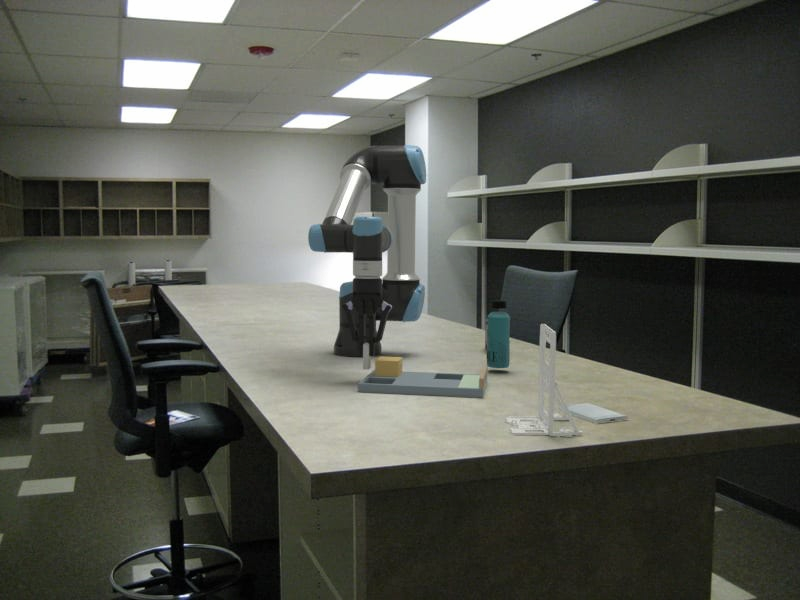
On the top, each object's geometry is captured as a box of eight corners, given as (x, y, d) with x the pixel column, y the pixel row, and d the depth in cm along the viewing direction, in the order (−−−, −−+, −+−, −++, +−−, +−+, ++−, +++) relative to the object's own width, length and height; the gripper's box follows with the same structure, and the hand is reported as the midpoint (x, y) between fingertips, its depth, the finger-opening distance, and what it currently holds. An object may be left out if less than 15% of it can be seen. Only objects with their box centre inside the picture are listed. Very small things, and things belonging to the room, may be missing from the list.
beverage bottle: (512, 370, 210) (514, 299, 208) (505, 374, 204) (507, 301, 202) (490, 368, 212) (491, 298, 211) (482, 372, 206) (484, 300, 205)
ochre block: (375, 375, 190) (375, 360, 189) (379, 371, 196) (379, 356, 195) (398, 376, 189) (398, 361, 188) (402, 372, 195) (402, 357, 194)
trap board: (358, 391, 180) (358, 373, 180) (373, 377, 198) (373, 360, 197) (483, 397, 175) (483, 378, 175) (487, 382, 193) (487, 365, 192)
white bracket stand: (502, 417, 157) (504, 323, 155) (568, 418, 156) (571, 323, 154) (510, 436, 142) (512, 332, 140) (583, 437, 142) (587, 333, 140)
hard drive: (559, 406, 163) (597, 418, 152) (588, 402, 167) (628, 414, 155) (558, 413, 163) (596, 426, 152) (588, 409, 167) (627, 422, 156)
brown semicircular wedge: (507, 354, 236) (508, 323, 236) (488, 354, 237) (488, 323, 236) (503, 348, 249) (503, 319, 248) (484, 348, 249) (485, 318, 248)
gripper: (339, 277, 188) (338, 370, 190) (389, 278, 186) (388, 372, 188) (346, 275, 196) (346, 364, 198) (395, 277, 193) (394, 367, 196)
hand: (366, 368), depth 193 cm, fingers closed
